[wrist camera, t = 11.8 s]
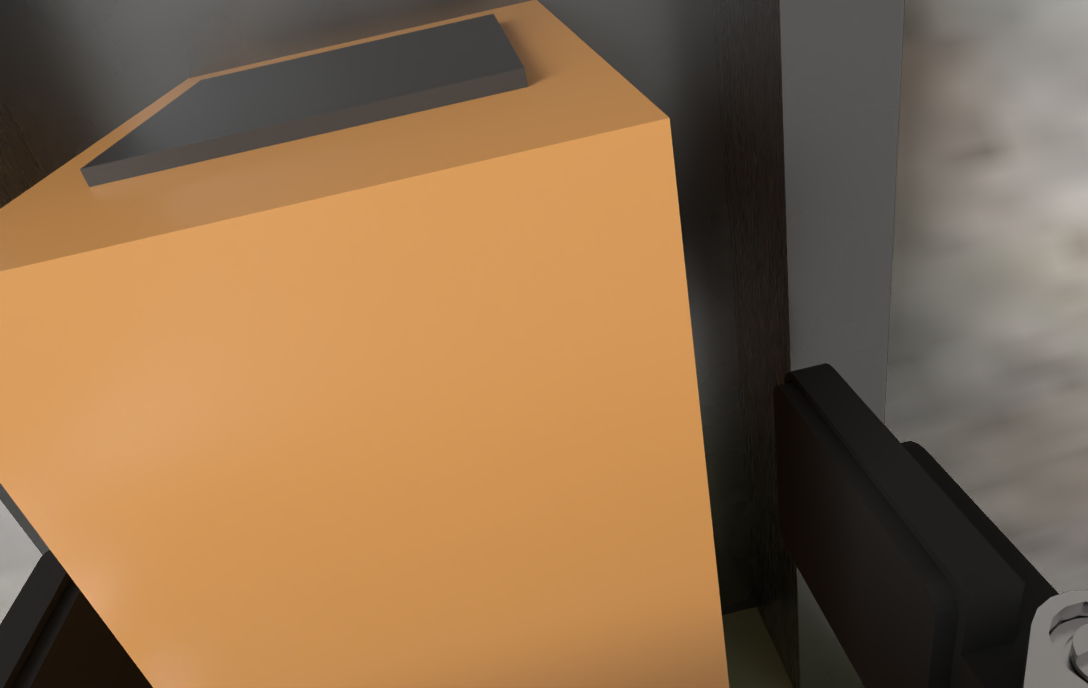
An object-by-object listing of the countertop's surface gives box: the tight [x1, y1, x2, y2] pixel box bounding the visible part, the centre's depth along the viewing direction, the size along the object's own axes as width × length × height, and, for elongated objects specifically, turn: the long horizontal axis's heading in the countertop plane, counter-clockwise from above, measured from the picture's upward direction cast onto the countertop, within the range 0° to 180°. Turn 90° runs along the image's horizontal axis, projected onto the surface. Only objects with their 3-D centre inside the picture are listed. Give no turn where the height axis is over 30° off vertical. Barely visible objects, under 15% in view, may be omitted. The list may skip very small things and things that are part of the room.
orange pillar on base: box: [0, 0, 729, 688], centre depth 11 cm, size 13×6×8 cm, turn 11°
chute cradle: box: [0, 0, 905, 688], centre depth 11 cm, size 22×13×9 cm, turn 11°
